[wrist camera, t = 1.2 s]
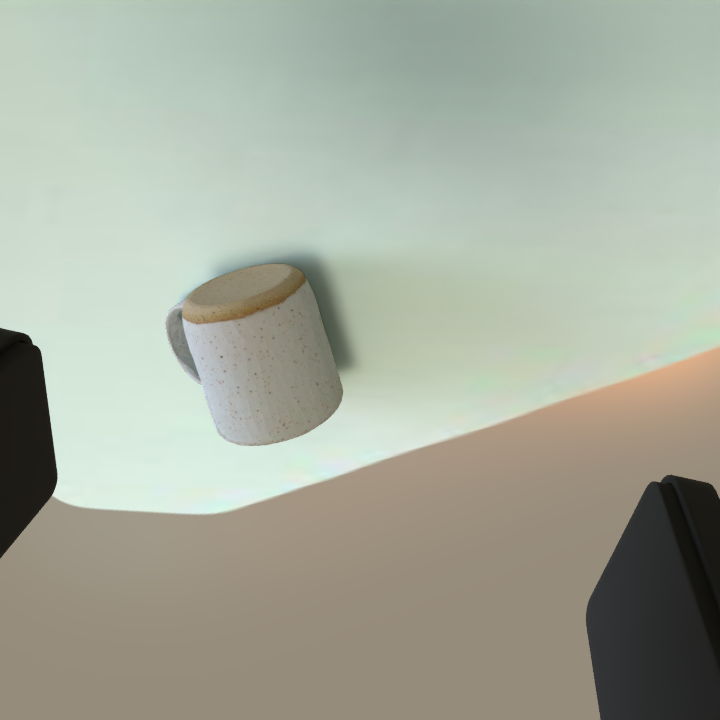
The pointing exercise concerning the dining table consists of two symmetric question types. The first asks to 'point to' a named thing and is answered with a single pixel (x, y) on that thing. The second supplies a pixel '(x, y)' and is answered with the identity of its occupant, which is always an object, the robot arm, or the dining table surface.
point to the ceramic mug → (257, 353)
